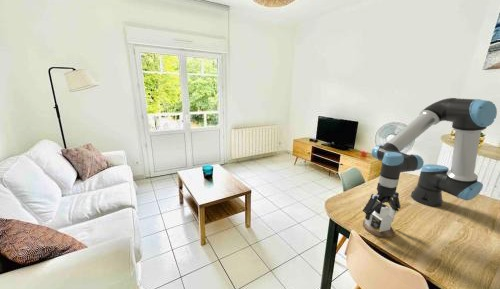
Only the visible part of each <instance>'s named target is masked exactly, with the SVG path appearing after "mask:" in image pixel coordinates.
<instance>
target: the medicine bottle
mask: <svg viewBox="0 0 500 289" xmlns="http://www.w3.org/2000/svg"><path fill="white" fill-rule="evenodd" d="M390 208H391V207H389V205H386V204H385V203H382V204H381V205H379V206H378V207H377V209H376V210H375V211H374V212H373V213H372V215H373V216H372V221H371V227H373V228H374V229H375V230H376V231H378V232H382V231H386V230H390V227H392V223H393V222H392V219H393V218H392V217H391V216H389V211H390ZM393 220H394V219H393Z"/></svg>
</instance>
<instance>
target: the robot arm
mask: <svg viewBox="0 0 500 289" xmlns="http://www.w3.org/2000/svg"><path fill="white" fill-rule="evenodd" d="M497 112H498V110H497V107H496V104H495V103H494V102H492V101H491V100H486V99H477V98H473V99H472V98H471V99H470V98H456V97H447V98H444V99H441V100H438V101H435V102H433V103H431V104H430V105H428V106H426V107H425V108H424V109H422V110H421V111H420V112H419V114H418V116H417V117H416V118H415V119H414V120H412V121H411V122H410V123H408V124H407V125H406V126H405V127H404V128H402V130H400V131H398V133H396V134H395V135H394V136H393V137H391V139H390V140H388V141H387V142H386V143H385V144H383V145H380V144H377V145H375V146H374V147H373V148H372V149H371V156H372V157H373V158H374V159H376V160H378V161H381V166H380V167H381V168H380V172H379V177H378V182H377V186H376V191H377V193H376V194H374V193H371V195H370V197H369V199H368V201H367V203H366V205H365V206H364V207H363V209H362V212H363V213H364V214H365V215H364V216H365V218H364V220H365V219H366V220H365V224H367V225H368V226H369V227H370V226H371V221H372V216H373V215H372V213H373V212H374V211H375V210H376V209H377V207H378V206H379V205H381V204H385V203H388V206H390V207H389V208H390V211H389V216H391V217H392V218H393V219H392V223H393V221H394V219H395V215H396V212H399V211H400V210H401V203H400V198H399V192H397V188H398V185H399V181H400V177H401V176H400V175H401V173H406V172H407V173H408V172H415V171H418V170H420V173H419V177H418V181H417V185H416V186H415V187H414V189H413V190H412V191H411V193H410V198H412V199H413V200H414V201H416V202H417V203H420V204H422V205H426V206H430V207H440V206H442V205H443V201H444V200H443V194H442V193H443V192H444V193H446V194H448V195H451V196H454V197H455V198H458V199H461V200H463V201H471V200H473V199H474V198H476V197H477V196H478V195H479V194H480V193H481V191H482V190H483V187H484V184H483V183H482V182H481V181H478V178H479V177H478V174H476V173H475V168H476V164H477V163H476V162H477V157H478V153H479V152H478V151H479V145H480V139H481V135H482V132H483V131H485V130H486V129H487V127H490V126H491V125H492V124H493V123H494V122H495V119H496V118H497ZM443 121H444V122H451V123H452V124H451V128H452V129H453V130H455V135H454V144H453V150H452V159H451V168H449V167H447V166H445V165H440V164H431V163H429V164H424V159H423V158H422V156H420V155H418V154H413V153H412V154H407V153H404V152H402V151H403V150H404V149H405V148H406V147H408V146H409V145H410V144H411V143H413V142H414V141H415V140H416V139H417V138H419V137H420V136H421V135H423V133H425V132H426V131H427V130H428V129H429V128H431V127H432V126H435V125H437V124H439V123H440V122H443Z"/></svg>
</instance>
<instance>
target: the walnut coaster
mask: <svg viewBox="0 0 500 289" xmlns="http://www.w3.org/2000/svg"><path fill="white" fill-rule="evenodd" d="M365 220H366V219H365V218H364V221H363V223H362V226H363V229H364V230H366V231H367V232H368V233H369V234H371V235H374V236H375V237H379V238H385V239H387V238H391V237H392V236H393V235H394V229H393V227H392V226H391V227H390V230H386V231H382V232H378V231H376V230H375V229H374V228H373V227H371V226H370V227H369V226H368V225H367V224H365Z"/></svg>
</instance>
